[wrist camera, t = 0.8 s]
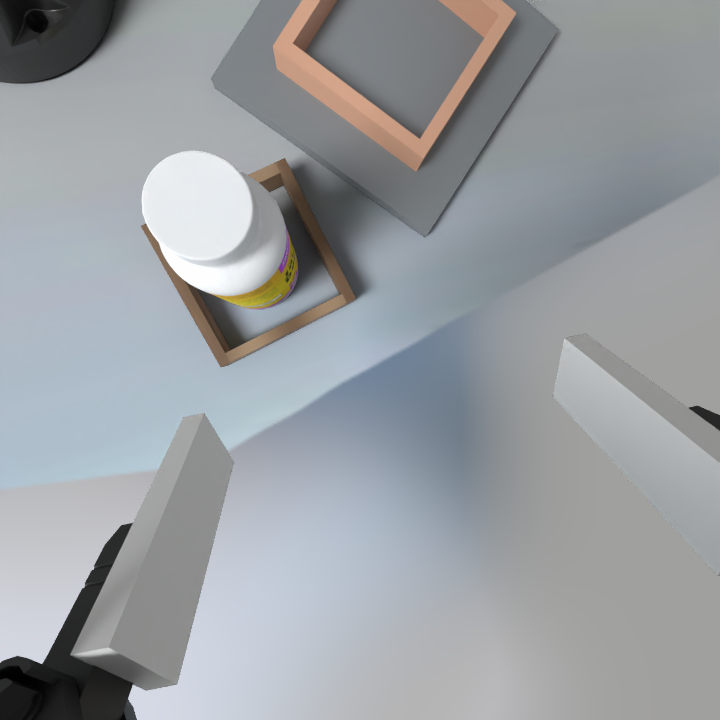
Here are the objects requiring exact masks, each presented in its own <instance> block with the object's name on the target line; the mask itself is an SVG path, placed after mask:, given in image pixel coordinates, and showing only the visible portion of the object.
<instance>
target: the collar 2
mask: <svg viewBox="0 0 720 720" xmlns="http://www.w3.org/2000/svg"><path fill="white" fill-rule="evenodd" d="M439 1H440V2H441V3H443V4H444V5H445V6H446V7H447V8H449V9H450V10H451V11H452V12H453V13H455V14H456V15H457V16H458V17H460V18H461V19H462V20H463V21H464V22H466V23H467V24H468V25H469V26H471V27H472V28H473V29H474V30H475V31H477V32H478V33H479V34H480V35H481V36H483V37H484V40H483V41H482V43H481V44H480V46H479V47H478V49H477V50H476V52H475V54H474V55H473V57H472V58H471V60H470V61H469V63H468V65H467V66H466V68H465V69H464V71H463V72H462V74H461V76H460V77H459V79H458V80H457V82H456V83H455V85H454V86H453V88H452V90H451V91H450V93H449V94H448V96H447V97H446V99H445V101H444V102H443V104H442V105H441V107H440V108H439V110H438V111H437V113H436V115H435V116H434V118H433V119H432V121H431V122H430V124H429V126H428V127H427V129H426V130H425V132H424V133H423V135H422V137H421V138H420V139H419V138H418V137H416V136H415V135H414V134H412V133H411V132H410V131H408V130H407V129H406V128H404V127H403V126H402V125H400V124H399V123H398V122H396V121H395V120H394V119H392V118H391V117H390V116H388V115H387V114H386V113H384V112H383V111H382V110H380V109H379V108H378V107H376V106H375V105H374V104H372V103H371V102H370V101H368V100H367V99H366V98H365V97H363V96H362V95H361V94H359V93H358V92H357V91H355V90H354V89H353V88H351V87H350V86H349V85H347V84H346V83H345V82H343V81H342V80H341V79H339V78H338V77H337V76H335V75H334V74H333V73H331V72H330V71H329V70H327V69H326V68H325V67H323V66H322V65H321V64H319V63H318V62H317V61H315V60H314V59H313V58H311V57H310V56H309V55H307V54H306V53H305V50H306V49H307V47H308V46H309V44H310V43H311V41H312V39H313V38H314V36H315V35H316V33H317V32H318V30H319V29H320V27H321V25H322V24H323V22H324V21H325V19H326V18H327V16H328V15H329V13H330V11H331V10H332V8H333V7H334V5H335V4H336V2H337V0H302V1H301V3H300V4H299V6H298V7H297V9H296V10H295V12H294V14H293V15H292V17H291V18H290V20H289V21H288V23H287V25H286V26H285V28H284V29H283V31H282V32H281V34H280V35H279V37H278V39H277V40H276V42H275V43H274V45H273V51H274V56H275V62H276V67H277V70H279V71H280V72H281V73H283V74H284V75H286V76H287V77H288V78H290V79H291V80H292V81H294V82H295V83H296V84H298V85H299V86H300V87H302V88H303V89H305V90H306V91H307V92H309V93H310V94H311V95H313V96H314V97H315V98H317V99H318V100H319V101H321V102H322V103H323V104H325V105H326V106H328V107H329V108H330V109H332V110H333V111H334V112H336V113H337V114H338V115H340V116H341V117H342V118H344V119H345V120H346V121H348V122H349V123H351V124H352V125H353V126H355V127H356V128H357V129H359V130H360V131H361V132H363V133H364V134H365V135H367V136H368V137H370V138H371V139H372V140H374V141H375V142H376V143H378V144H379V145H380V146H382V147H383V148H384V149H386V150H387V151H388V152H390V153H391V154H393V155H394V156H395V157H397V158H398V159H399V160H401V161H402V162H403V163H405V164H406V165H407V166H409V167H410V168H412V169H413V170H414V171H416V172H417V170H418V168H419V167H420V165H421V164H422V162H423V161H424V159H425V158H426V156H427V154H428V153H429V151H430V150H431V148H432V147H433V145H434V143H435V142H436V140H437V139H438V137H439V136H440V134H441V132H442V131H443V129H444V128H445V126H446V125H447V123H448V121H449V120H450V118H451V117H452V115H453V114H454V112H455V111H456V109H457V107H458V106H459V104H460V103H461V101H462V100H463V98H464V96H465V95H466V93H467V92H468V90H469V89H470V87H471V85H472V84H473V82H474V81H475V79H476V78H477V76H478V75H479V73H480V71H481V70H482V68H483V67H484V65H485V64H486V62H487V60H488V59H489V57H490V56H491V54H492V53H493V51H494V49H495V48H496V46H497V45H498V43H499V42H500V40H501V39H502V37H503V35H504V34H505V32H506V30H507V28H508V27H509V25H510V23H511V22H512V20H513V18H514V16H515V15H516V12H515V11H514V10H513V9H511V8H510V7H509V6H508V5H507V4H505V3H504V2H503V1H502V0H439Z"/></svg>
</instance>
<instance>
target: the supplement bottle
mask: <svg viewBox="0 0 720 720" xmlns="http://www.w3.org/2000/svg"><path fill="white" fill-rule="evenodd" d="M142 211H143V216H144V219H145V221H146V224H147V226H148V228H149V230H150V232H151V233H152V235H153V236H154V237H155V239H156V240H157V241H158V242H159V245H160V248H161V251H162V253H163V255H164V257H165V259H166V260H167V262H168V264H169V265H170V266H171V268H172V269H173V270H174V271H175V272H176V273H177V274H178V275H179V276H180V277H181V278H182V279H183V280H185V281H186V282H187V283H189V284H190V285H192V286H194V287H196V288H198V289H200V290H202V291H205V292H207V293H210V294H212V295H214V296H217V297H219V298H221V299H224V300H226V301H228V302H231V303H233V304H235V305H238V306H241V307H244V308H247V309H253V310H261V309H267V308H271V307H273V306H276V305H278V304H279V303H281V302H282V301H284V300H285V299H286V298H287V297H288V296H289V294H290V293H291V292H292V290H293V288H294V287H295V284H296V281H297V277H298V261H297V257H296V253H295V250H294V247H293V245H292V242H291V239H290V236H289V233H288V230H287V227H286V224H285V221H284V218H283V216H282V213H281V211H280V208H279V206H278V204H277V203H276V201H275V200H274V198H273V197H272V195H271V194H270V193H269V192H268V191H267V190H266V189H265V188H264V187H263V186H262V185H261V184H260V183H259V182H257V181H256V180H254V179H253V178H251V177H250V176H248V175H246V174H244V173H241V172H239V171H238V170H237V169H236V168H235V167H234V166H233V165H232V164H231V163H229V162H228V161H226V160H225V159H223V158H221V157H219V156H217V155H215V154H212V153H209V152H204V151H183V152H179V153H176V154H173V155H171V156H168V157H167V158H165V159H164V160H162V161H161V162H160V163H158V164H157V165H156V166H155V168H154V169H153V170H152V171H151V173H150V174H149V176H148V177H147V180H146V182H145V184H144V187H143V192H142Z"/></svg>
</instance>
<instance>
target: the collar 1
mask: <svg viewBox="0 0 720 720" xmlns="http://www.w3.org/2000/svg"><path fill="white" fill-rule="evenodd" d="M248 176H250V177H251V178H253V179H254V180H256V181H257V182H259V183H260V184H261V185H262V186H263V187H264V188H265V189H266V190H267V191H268V192H270V191H272V190H274V189H276V188H279V187H281V186H283V185H284V187H285V189H286V191H287V193H288V194H289V196H290V198H291V200H292V202H293V204H294V206H295V208H296V210H297V212H298V214H299V216H300V218H301V220H302V222H303V224H304V226H305V228H306V230H307V232H308V234H309V236H310V238H311V240H312V241H313V243H314V245H315V247H316V249H317V251H318V253H319V255H320V257H321V259H322V261H323V263H324V265H325V267H326V269H327V271H328V273H329V275H330V277H331V279H332V281H333V283H334V285H335V287H336V288H337V290H338V292H339V294H340V295H339V296H337V297H335V298H333V299H331V300H329V301H327V302H325V303H323V304H321V305H319V306H317V307H315V308H313V309H311V310H309V311H307V312H305V313H303V314H301V315H299V316H297V317H295V318H293V319H291V320H289V321H287V322H286V323H284V324H282V325H280V326H278V327H276V328H274V329H272V330H270V331H268V332H266V333H264V334H262V335H260V336H258V337H256V338H254V339H252V340H250V341H248V342H246V343H244V344H242V345H240V346H238V347H236V348H234V349H232V350H231V349H230V347H229V345H228V343H227V342H226V340H225V338H224V336H223V334H222V333H221V331H220V329H219V327H218V325H217V324H216V322H215V320H214V318H213V316H212V315H211V313H210V311H209V309H208V308H207V306H206V304H205V302H204V300H203V299H202V297H201V295H200V293H199V291H198V290H197V288H196V287H194V286H192V285H190V284H189V283H187V282H186V281H185V280H183V279H182V278H181V277H180V276H179V275H178V274H177V273H176V272H175V271H174V270H173V269H172V268H171V266H170V265H169V264H168V262H167V260H166V259H165V257H164V255H163V253H162V251H161V248H160V245H159V242H158V241H157V240H156V239H155V237H154V236H153V235H152V233H151V232H150V230H149V228H148V226H147V224H144V225H142V226H141V227H142V229H143V231H144V232H145V234H146V236H147V238H148V240H149V241H150V243H151V245H152V247H153V248H154V250H155V252H156V254H157V255H158V257H159V259H160V261H161V263H162V264H163V266H164V268H165V270H166V271H167V273H168V275H169V277H170V278H171V280H172V282H173V284H174V286H175V287H176V289H177V291H178V293H179V294H180V296H181V298H182V300H183V301H184V303H185V305H186V307H187V309H188V310H189V312H190V314H191V316H192V317H193V319H194V321H195V323H196V324H197V326H198V328H199V330H200V331H201V333H202V335H203V337H204V339H205V340H206V342H207V344H208V346H209V347H210V349H211V351H212V353H213V354H214V356H215V358H216V360H217V362H218V363H219V365H220V367H224V366H228V365H230V364H232V363H234V362H236V361H238V360H240V359H242V358H244V357H246V356H248V355H250V354H252V353H253V352H255V351H257V350H259V349H261V348H263V347H265V346H267V345H269V344H271V343H273V342H275V341H277V340H279V339H281V338H283V337H285V336H287V335H289V334H291V333H293V332H295V331H297V330H299V329H301V328H302V327H304V326H306V325H308V324H310V323H312V322H314V321H316V320H318V319H320V318H322V317H324V316H326V315H328V314H330V313H332V312H334V311H336V310H338V309H340V308H342V307H344V306H346V305H348V304H350V303H351V302H353V301H354V300H355V299H356V298H355V296H354V294H353V292H352V290H351V288H350V286H349V284H348V282H347V280H346V278H345V276H344V274H343V272H342V270H341V268H340V266H339V264H338V262H337V260H336V258H335V256H334V254H333V252H332V250H331V248H330V246H329V244H328V242H327V240H326V238H325V236H324V234H323V232H322V230H321V229H320V227H319V225H318V223H317V221H316V219H315V217H314V215H313V213H312V211H311V209H310V207H309V205H308V203H307V201H306V199H305V197H304V195H303V193H302V191H301V189H300V187H299V185H298V183H297V181H296V179H295V177H294V175H293V173H292V171H291V169H290V167H289V165H288V163H287V161H286V159H285V158H284V159H282V160H280V161H277V162H275V163H273V164H271V165H269V166H267V167H265V168H263V169H261V170H258V171H256V172H254V173H252V174H250V175H248Z"/></svg>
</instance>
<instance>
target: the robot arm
mask: <svg viewBox="0 0 720 720" xmlns="http://www.w3.org/2000/svg"><path fill="white" fill-rule="evenodd" d="M113 6H114V0H0V82H9V83H25V82H34V81H40V80H44V79H48V78H51V77H54V76H57V75H59V74H61V73H64V72H66V71H67V70H69V69H71V68H73V67H74V66H76V65H77V64H78V63H80V62H81V61H82V60H83V59H85V58H86V57H87V56H88V55H89V54H90V53H91V52H92V50H93V49H94V48H95V47H96V45H97V44H98V43H99V41H100V40H101V38H102V36H103V35H104V33H105V31H106V29H107V26H108V24H109V21H110V18H111V15H112V11H113ZM553 397H554V398H555V399H556V400H557V401H558V402H559V403H560V404H561V406H562V407H563V408H564V409H565V410H566V411H567V412H568V413H569V414H570V415H571V416H572V418H573V419H574V420H575V421H576V422H577V423H578V424H579V425H580V426H581V427H582V429H584V431H585V432H586V433H587V434H588V435H589V436H590V437H591V438H592V439H593V440H594V442H595V443H596V444H597V445H598V446H599V447H600V448H601V449H602V450H603V451H604V453H605V454H606V455H607V456H608V457H609V458H610V459H611V460H612V461H613V462H614V463H615V465H616V466H617V467H618V468H619V469H620V470H621V471H622V472H623V473H624V474H625V476H626V477H627V478H628V479H629V480H630V481H631V482H632V483H633V484H634V485H635V486H636V488H637V489H638V490H639V491H640V492H641V493H642V494H643V495H644V496H645V497H646V499H647V500H648V501H649V502H650V503H651V504H652V505H653V506H654V507H655V508H656V509H657V511H658V512H659V513H660V514H661V515H662V516H663V517H664V518H665V519H666V520H667V521H668V522H669V524H670V525H671V526H672V527H673V528H674V529H675V530H676V531H677V532H678V534H680V536H681V537H682V538H683V539H684V540H685V541H686V542H687V543H688V544H689V546H690V547H691V548H692V549H693V550H694V551H695V552H696V553H697V554H698V555H699V556H700V558H701V559H702V560H703V561H704V562H705V563H706V564H707V565H708V566H709V567H710V569H711V570H713V572H714V573H715V574H716V575H717V576H719V575H720V415H718V414H715V413H713V412H711V411H709V410H706V409H704V408H702V407H699V406H694V407H690V408H688V407H686V406H685V405H683V404H682V403H681V402H679V401H678V400H677V399H675V398H674V397H672V396H671V395H670V394H668V393H667V392H666V391H664V390H663V389H661V388H660V387H659V386H657V385H656V384H655V383H653V382H652V381H650V380H649V379H648V378H646V377H645V376H643V375H642V374H641V373H639V372H638V371H637V370H635V369H634V368H632V367H631V366H630V365H628V364H627V363H626V362H624V361H623V360H621V359H620V358H619V357H617V356H616V355H615V354H613V353H612V352H610V351H609V350H608V349H606V348H605V347H603V346H602V345H601V344H599V343H598V342H597V341H595V340H594V339H593V338H591V337H590V336H588V335H587V334H586V333H585V334H581V335H576V336H571V337H567V338H564V342H563V347H562V352H561V357H560V362H559V367H558V372H557V377H556V382H555V387H554V392H553ZM233 464H234V461H233V459H232V458H231V456H230V454H229V453H228V451H227V450H226V448H225V446H224V445H223V443H222V441H221V440H220V438H219V436H218V435H217V433H216V432H215V430H214V428H213V427H212V425H211V423H210V422H209V420H208V418H207V417H206V415H205V413H202V414H197V415H192V416H188V417H183V419H182V421H181V424H180V426H179V428H178V430H177V432H176V434H175V436H174V438H173V440H172V442H171V444H170V447H169V449H168V451H167V453H166V455H165V457H164V459H163V461H162V463H161V465H160V468H159V470H158V472H157V474H156V476H155V478H154V480H153V482H152V484H151V487H150V489H149V491H148V493H147V495H146V497H145V499H144V501H143V503H142V505H141V507H140V510H139V512H138V514H137V516H136V518H135V520H134V522H133V523H130V524H126V525H121V526H120V528H119V529H118V530H117V531H116V532H115V534H114V535H113V536H112V537H111V538H110V540H109V541H108V542H107V543H106V544H105V546H104V548H103V550H102V552H101V554H100V555H99V557H98V559H97V561H96V563H95V565H94V570H92V571H91V573H90V575H89V577H88V579H87V580H86V582H85V588H83V589H82V590H81V592H80V594H79V596H78V598H77V600H76V602H75V603H74V605H73V607H72V609H71V611H70V613H69V615H68V617H67V619H66V621H65V623H64V625H63V627H62V629H61V631H60V632H59V634H58V636H57V638H56V640H55V642H54V644H53V646H52V648H51V650H50V652H49V654H48V655H47V657H46V659H45V661H44V662H43V664H40V663H38V662H35V661H33V660H30V659H27V658H24V657H19V656H16V657H13V658H10V659H7V660H4V661H2V662H1V663H0V720H137V719H136V715H135V712H134V708H133V706H132V705H131V703H130V702H129V700H128V697H129V694H130V691H131V688H132V685H136V686H137V687H140V688H142V689H144V690H151V689H157V688H162V687H167V686H171V685H176V684H177V683H178V679H179V675H180V672H181V668H182V664H183V660H184V656H185V651H186V648H187V644H188V640H189V636H190V632H191V628H192V624H193V621H194V617H195V613H196V609H197V605H198V601H199V597H200V593H201V589H202V585H203V581H204V578H205V574H206V570H207V566H208V562H209V557H210V554H211V550H212V546H213V542H214V538H215V534H216V530H217V527H218V523H219V519H220V515H221V511H222V507H223V503H224V499H225V495H226V491H227V487H228V484H229V479H230V476H231V472H232V468H233Z"/></svg>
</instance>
